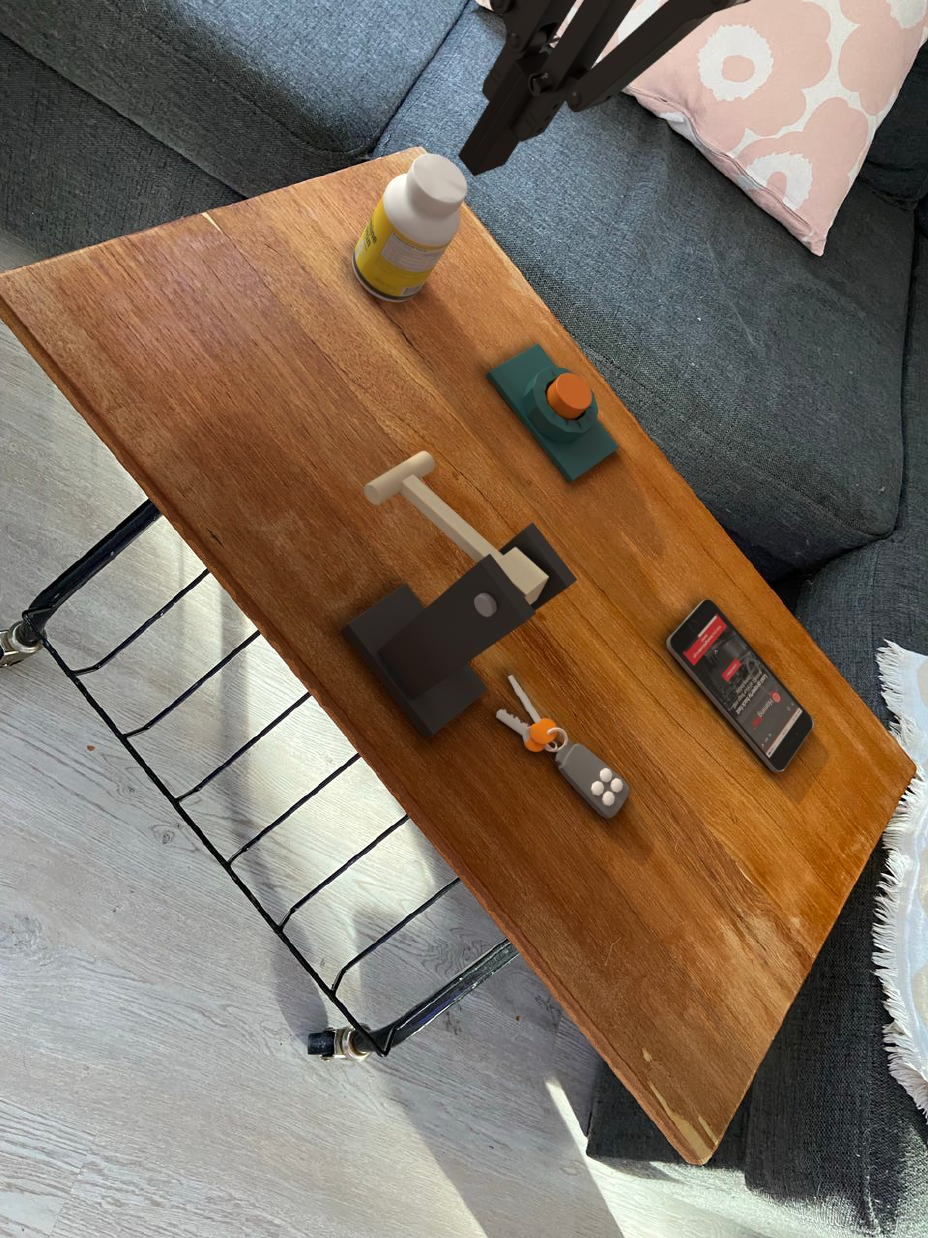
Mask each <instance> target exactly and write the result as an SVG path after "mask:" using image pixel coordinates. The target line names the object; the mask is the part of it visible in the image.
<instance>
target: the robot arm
mask: <svg viewBox="0 0 928 1238" xmlns="http://www.w3.org/2000/svg"><path fill="white" fill-rule="evenodd" d="M488 1H489V6H490V8H491V10H492V12H493V13H494V14H496V15H500V16H501V18H502V20H503V24H504V26H505V30H506V33H505V43H504V45H503V47H502V48H501V50H500V52H499V54H498V55H497V57H496V59H495V61H494V63H493V64H492V67H491V68H490V70H489V72H488V73H487V75H486V77H485V79H484V81H483V83H482V88H481V93H482V95H483V96H484V98H485V99H486V100H487V101H488V103H487V105H486V106H485V108H484V110H483V112H481V115H480V116H479V119H478V120H477V122H476V123H475V125H474V126H473V129H472V131H471V132H470V134H469V136H468V137H467V139H466V141H465V142H464V144H463V145H462V147H461V148H460V150H459V153H458V154H457V157H458V158H459V160H460V161H461V162H462V164H463V165H464V166H465V168H466V169H467V170H468V171H469V173H470V174H471V175H472V177H474V178H475V177H477V176H479V175H482V174H485V173H488V172H490V171H492V170H494V169H497V168H500V167H503V166H505V165H506V164H507V162H508V160H509V159H510V158H511V156H512V154H513V153H514V151H515V150H516V148H517V146H518V145H519V144H520V143H523V142H526V141H529V140H531V139H534V138H536V137H539V136H540V135H542V134H544V133H545V132H546V130H547V129H548V127H549V126H550V124H551V123H552V121H553V120H554V118H555V117H556V116H557V114H558V112H559V111H560V109H561V108H562V106H563V105H564V103H566V104H567V107H568V109H569V110H570V111H572V112H573V113H577V114H578V113H581V112H584V111H587V110H589V109H591V108H594V107H597V106H601V105H602V104H605V103H608V102H609V101H611V100H612V99H613V98H614V97H616V96H618V94H619V93H621V92H622V91H623V90H624V89H626V87H628V86H629V85H630V84H631V83H632V82H634V81H635V80H636V79H638V77H639V76H641V75H642V74H644V72H646V71H647V70H648V69H649V68H650V67H652V66H653V65H654V64H655V63H657V62H658V61H659V60H660V59H661V58H662V57H663V56H666V54H667V53H668V52H670V51H671V50H672V49H673V48H674V47H676V46H677V45H678V44H679V43H680V42H681V41H682V40H684V39H685V38H686V37H687V36H689V35H690V34H691V33H692V32H693V31H695V30H696V29H697V28H698V27H699V26H700V25H702V24H703V23H704V22H705V21H706V20H708V19H709V18H710V17H711V16H712V15H714V14H715V13H719V12H722V11H724V10H728V9H731V8H733V7H737V6H741V5H744V4H746V3H749V2H752V0H667V1H665V2H664V3H663V4H662V5H661V6H660V7H658V8H657V9H656V10H655V11H654V12H653V13H652V14H651V15H650V16H648V17H647V18H646V19H645V20H644V21H643V22H641V23H640V24H639V25H638V26H637V27H636V28H635V29H634V30H633V31H632V32H630V33H629V34H628V35H627V36H626V37H625V38H624V39H622V40H621V42H619V43H618V44H617V45H616V46H615V47H614V48H613V49H612V50H610V52H608V53H607V54H606V55H605V56H604V57H602V58H601V59H600V60H599V61H598V62H597V60H598V59H599V57H600V56H601V54H602V53H603V52H604V50H605V49H606V47H607V45H608V44H609V42H610V41H611V40H612V38H613V36H614V35H615V34H616V32H617V31H618V29H619V27H620V26H621V25H622V23H623V22H624V20H625V19H626V17H627V15H628V14H629V12H630V11H631V10H632V8H633V7H634V5H635V4H636V2H637V0H582V2H580V3H581V4H580V5H579V6H578V8H577V9H576V12H575V13H574V15H573V16H572V18H571V20H570V21H569V23H568V24H567V26H566V28H565V29H564V31H563V33H562V34H561V36H557V35H558V32H559V30H560V28H561V26H562V25H563V23H564V22H565V20H566V18H567V17H568V16H569V14H570V12H571V10H572V8H573V7H574V6H575V4H576V2H577V0H488ZM555 36H557V37H555ZM554 43H556V44H555V46H554V48H553V49H552V51H551V52H550V53H548V51H547V50H544V51H542V49H543V48H544V46H548V45H551V44H554ZM596 62H597V63H596Z"/></svg>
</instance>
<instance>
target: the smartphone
mask: <svg viewBox="0 0 928 1238" xmlns="http://www.w3.org/2000/svg"><path fill="white" fill-rule="evenodd" d="M666 649H667V650H668V652H669V653H670V654H671V655H672V656H673V658H674V659H675V660H676V661H677V663H679V665H680V666H681V667H682V668H683V669H684V671H686V673H687V674H688V675H689V676H690V677H691V679H693V681H694V682H695V683H696V684H697V686H698V687H699V688H700V689H701V690H702V691H703V693H705V695H706V696H707V697H708V699H710V701H711V702H712V703H713V704H714V706H715V707H716V708H717V709H718V710H719V711H720V713H721V714H723V716H724V717H725V719H727V721H728V722H729V723H730V724H731V725H732V726H733V728H734V729H735V730H736V731H737V732H738V733H739V735H740V736H741V737H742V739H744V740H745V742H746V743H747V744H748V745H749V746H750V748H751V749H752V750H753V751H754V752H755V753H756V755H757V756H758V757H759V758H760V759H761V761H762V762H763V763H764V764H765V766H767V767H768V769H769V770H770V771H771V772H772V773H775V774H779V773H782V772H784V771H785V770H786V768H787V766H788V765H789V764H790V762H791V761H792V760H793V758H794V756H795V755H796V753H797V752H798V751H799V749H800V748H801V747H802V745H803V743H804V742H805V740H806V739H807V738H808V736H809V735H810V733H811V732H812V730H813V729H814V727H815V722H814V719H813V717H812V716H811V714H810V713H809V711H808V710H806V708H804V706H803V705H802V704H801V703H800V701H798V699H797V698H796V697H795V696H794V694H792V692H791V691H790V690H789V688H788V687H786V685H785V684H784V683H783V681H781V679H780V678H779V677H778V676H777V675H776V673H775V672H774V671H773V670H772V668H770V666H769V665H768V664H767V663H766V662H765V660H764V659H763V658H762V657H761V656H760V654H759V653H758V652H757V651H756V650H755V649H754V648H753V646H752V645H751V644H750V643H749V642H748V641H747V640H746V638H745V637H744V636H743V634H742V633H741V632H740V631H739V630H738V629H737V628H736V626H735V625H734V624H733V623H732V622H731V621H730V619H729V618H728V617H727V616H726V615H725V613H724V612H723V611H722V610H721V609H720V607H719V606H718V605H717V603H715V602H714V600H712V599H711V598H705V599H703V600H701V601H700V602H699V603H698V604H697V605H696V606H695V607H694V608H693V610H692V611H691V612H690V613H689V614H688V615H687V616H686V618H685V619H684V620H683V621H682V622H681V623H680V624H679V625H678V627H677V628H676V629H675V630H674V631H673V632H672V633H671V635H669V637H668V638H667V639H666Z"/></svg>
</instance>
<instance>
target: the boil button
mask: <svg viewBox="0 0 928 1238" xmlns="http://www.w3.org/2000/svg"><path fill="white" fill-rule="evenodd" d="M575 374H576V373H575ZM575 374H572V373H565V374H562V375H560V376H559V377H558V378H557V379H556V380H555V382H554V383H553V384H552V385H551V386H550V387H549V388H548V390H547V401H548V404H549V406H550V407H551V408H552V410H553V411H554V412H555V413H556V414H557V415H559V416H560V417H562V418H565V419H575V418H577V417H578V416H579V415H580V414H581V413H582V412H583V411H584V410H585V409H586V408H587V407H588V406H589V405H590V404H591V401H592V394H591V390H592V389H591V387H590V386H589V384H588V383H587V382H586V381H585V380H584V379H582V378H583V377H581V376H580V375H578V374H577V375H578V376H577V375H575ZM579 376H580V377H579ZM589 387H590V388H589ZM590 389H591V390H590Z"/></svg>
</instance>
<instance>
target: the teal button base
mask: <svg viewBox="0 0 928 1238" xmlns="http://www.w3.org/2000/svg"><path fill="white" fill-rule="evenodd" d="M565 373H572V374H575V375H577V376H579V377H581V376H580V375H578V374H576V373H575V372H573V371H571V370H570V369H568V368H567V367H562V366H561V367H559V366H557V365H556V364H555V362H554V361H553V360H552V359H551V357H550V356H549V355H548V354H547V352H546V351H545V349H544V348H543V347H542V346H541V344H540V343H536V344H535V345H533V346H531V347H529V348H528V349H526V350H524V351H522V352H520V353H519V354H516V355H515V356H513V357H511V358H509V359H508V360H506V361H504V362H503V363H501V364H499V365H497V366H495V367H494V368H492V369H490V370H488V372H487V373H486V374H485V377H486V378H487V380H488V381H489V382H490V383H491V384H492V386H493V387H494V388H495V389H496V391H497V392H498V393H499V395H500V397H501V398H502V399H503V400H504V402H506V404H507V405H508V406H509V408H510V409H511V410H512V411H513V413H514V414H515V415H516V417H517V418H518V419H519V420H520V422H521V423H522V424H523V426H524V427H525V429H526V430H527V431H528V433H530V435H531V436H532V437H533V439H534V440H535V441H536V443H537V445H539V446H540V448H541V449H542V450H543V451H544V453H545V454H546V456H547V457H548V458H549V459H550V461H551V462H552V464H554V465H555V467H556V469H557V470H558V471H559V472H560V474H561V475H562V476H563V477H564V479H565V481H567V482H568V484H572V483H573V482H574V481H575V480H578V478H580V477H582V476H583V475H584V474H586V473H587V472H588V471H589V470H591V469H593V468H594V467H596V466H597V465H598V464H599V463H601V462H602V461H604V460H605V459H606V458H607V457H609V456H610V455H612V454H613V453H615V452H616V451H617V450H618V449H619V448H620V446H619V445H618V444H617V443H616V441H615V440H614V438H613V437H612V436H611V435H610V434H609V432H608V431H607V430H606V428H605V427H604V426H603V424H602V423H601V422H600V420H599V419H598V418H597V417H598V413H599V407H598V403H597V398H596V396H595V392H594V391H593V390H592V388H591V387H590V386H589V388H590V390H591V394H592V401H591V404H590V405H589V406H588V407H587V408H586V409H585V410H584V411H583V412H582V413H581V414H580V415H579V416H578V417H577V418H575V419H565V418H562V417H560V416H559V415H557V414H556V413H555V412H554V411H553V410H552V408H551V407H550V406H549V404H548V401H547V390H548V388H549V387H550V386H551V385H552V384H553V383H554V382H555V380H556V379H557V378H558V377H559V376H560V375H562V374H565ZM581 378H582V379H583V377H581ZM583 380H584V379H583Z"/></svg>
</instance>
